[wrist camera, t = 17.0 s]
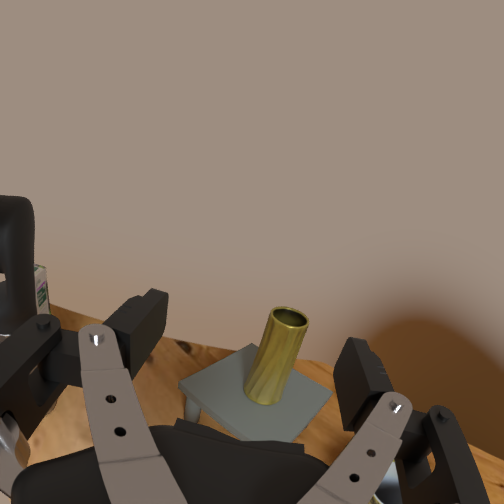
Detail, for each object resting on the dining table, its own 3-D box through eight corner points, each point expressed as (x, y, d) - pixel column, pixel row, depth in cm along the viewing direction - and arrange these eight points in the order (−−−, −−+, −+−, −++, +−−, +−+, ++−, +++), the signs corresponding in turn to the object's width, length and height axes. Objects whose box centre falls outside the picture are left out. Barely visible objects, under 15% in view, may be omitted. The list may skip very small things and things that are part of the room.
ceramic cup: (331, 531, 23) (367, 508, 20) (340, 482, 33) (371, 452, 30) (403, 535, 20) (445, 510, 17) (404, 490, 30) (439, 460, 27)
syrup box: (43, 339, 46) (35, 278, 42) (22, 332, 44) (12, 272, 40) (52, 324, 51) (47, 266, 47) (32, 319, 50) (25, 261, 45)
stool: (174, 415, 41) (178, 381, 38) (241, 376, 55) (251, 343, 53) (258, 483, 32) (275, 457, 29) (314, 423, 46) (333, 392, 43)
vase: (245, 375, 44) (268, 300, 39) (282, 382, 43) (310, 310, 39) (241, 401, 38) (266, 323, 33) (281, 409, 38) (315, 333, 33)
